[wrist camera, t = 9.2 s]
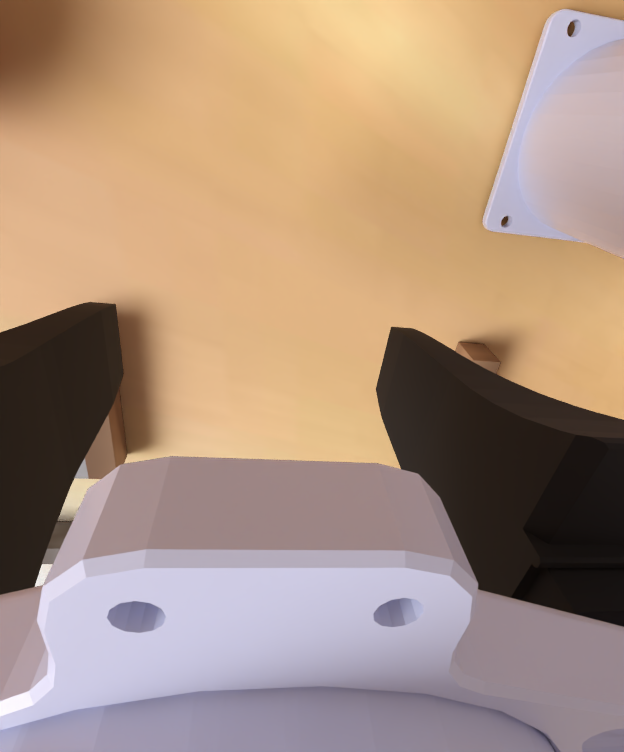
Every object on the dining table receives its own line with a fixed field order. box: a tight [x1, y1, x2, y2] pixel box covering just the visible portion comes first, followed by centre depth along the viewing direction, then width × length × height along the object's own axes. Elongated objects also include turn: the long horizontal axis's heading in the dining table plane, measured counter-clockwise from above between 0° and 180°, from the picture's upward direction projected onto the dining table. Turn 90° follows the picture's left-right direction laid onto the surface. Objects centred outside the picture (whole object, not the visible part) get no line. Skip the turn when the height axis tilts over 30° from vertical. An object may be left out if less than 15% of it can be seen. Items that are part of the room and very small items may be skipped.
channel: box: [42, 342, 501, 564], centre depth 27 cm, size 29×26×2 cm
